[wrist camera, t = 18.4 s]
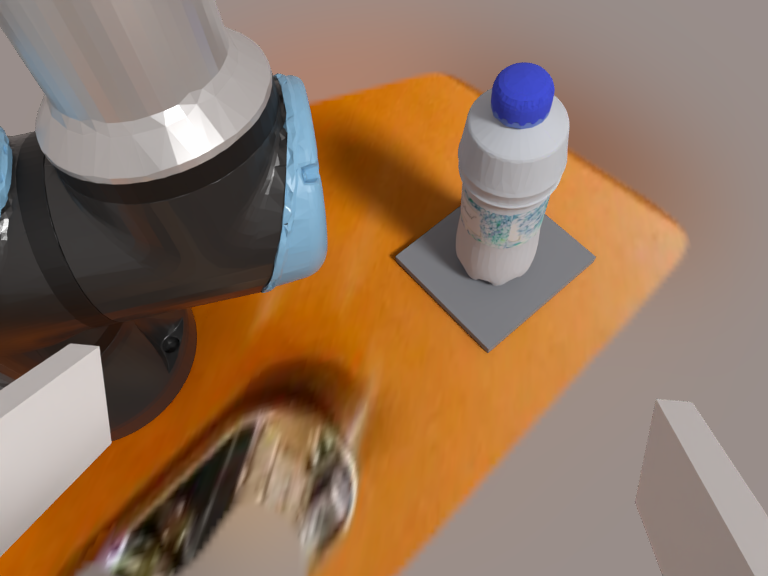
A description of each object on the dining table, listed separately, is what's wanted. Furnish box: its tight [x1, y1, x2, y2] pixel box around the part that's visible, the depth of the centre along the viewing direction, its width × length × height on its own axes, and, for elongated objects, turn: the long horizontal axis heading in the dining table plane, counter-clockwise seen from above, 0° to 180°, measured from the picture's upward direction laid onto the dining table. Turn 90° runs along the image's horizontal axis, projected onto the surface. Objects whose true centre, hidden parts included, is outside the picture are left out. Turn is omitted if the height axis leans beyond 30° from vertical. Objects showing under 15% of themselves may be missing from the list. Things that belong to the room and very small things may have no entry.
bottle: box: [456, 63, 569, 286], centre depth 42 cm, size 7×7×20 cm
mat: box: [396, 206, 596, 353], centre depth 52 cm, size 11×12×1 cm
